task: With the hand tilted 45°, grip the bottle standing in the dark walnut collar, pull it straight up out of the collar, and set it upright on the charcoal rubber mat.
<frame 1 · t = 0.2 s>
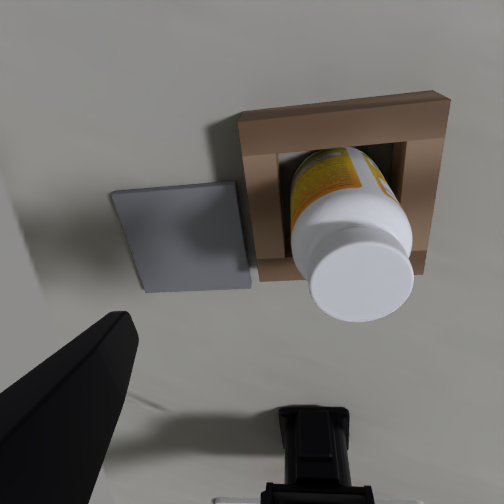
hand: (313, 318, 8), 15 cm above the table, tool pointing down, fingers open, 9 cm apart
rubber mat: (187, 240, 25), on the table
walnut collar: (334, 188, 22), on the table
supplement bottle: (334, 186, 22), resting in walnut collar
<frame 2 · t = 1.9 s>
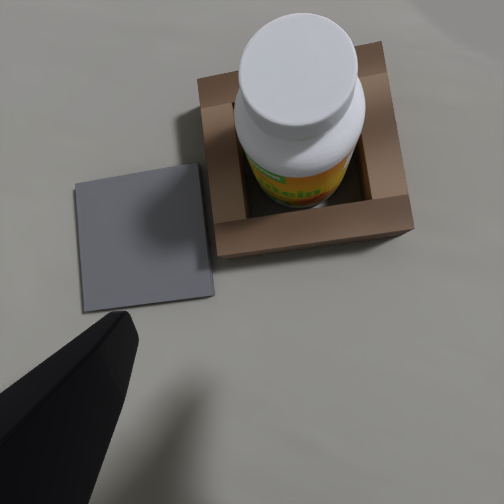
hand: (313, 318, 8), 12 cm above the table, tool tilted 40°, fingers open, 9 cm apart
rubber mat: (144, 238, 22), on the table
walnut collar: (299, 164, 22), on the table
supplement bottle: (299, 166, 22), resting in walnut collar
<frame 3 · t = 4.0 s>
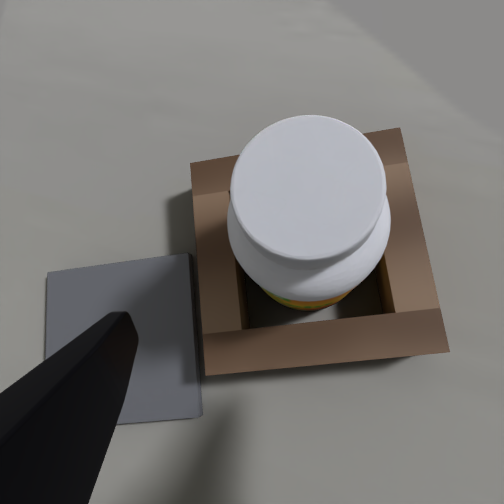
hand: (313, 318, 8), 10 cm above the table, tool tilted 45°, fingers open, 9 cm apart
rubber mat: (123, 339, 19), on the table
walnut collar: (306, 258, 19), on the table
supplement bottle: (306, 259, 19), resting in walnut collar
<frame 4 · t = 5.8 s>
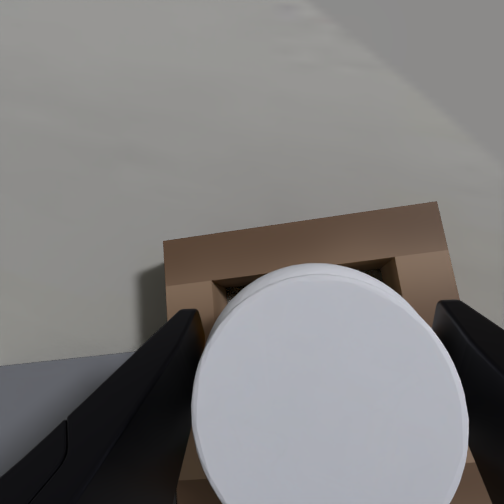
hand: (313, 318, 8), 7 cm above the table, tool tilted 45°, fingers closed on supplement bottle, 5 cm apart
rubber mat: (81, 456, 15), on the table
walnut collar: (312, 358, 15), on the table
supplement bottle: (312, 357, 15), resting in walnut collar, touching gripper
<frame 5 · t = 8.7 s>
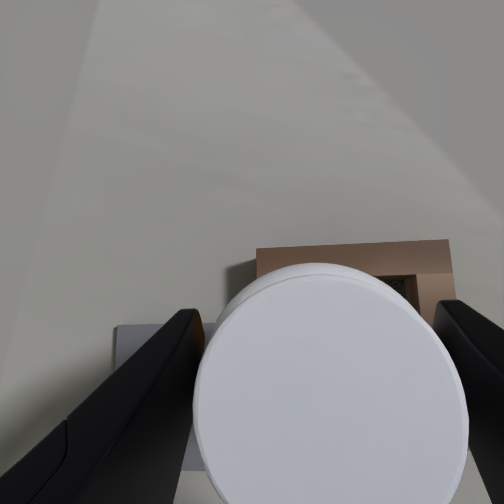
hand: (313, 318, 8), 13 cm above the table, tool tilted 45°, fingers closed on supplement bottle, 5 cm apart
rubber mat: (181, 392, 22), on the table
walnut collar: (350, 338, 21), on the table
supplement bottle: (312, 356, 15), point 6 cm above the table, touching gripper
when the fingers open (8 cm above the table, at t = 11.8 s): supplement bottle drops 1 cm, resting on rubber mat.
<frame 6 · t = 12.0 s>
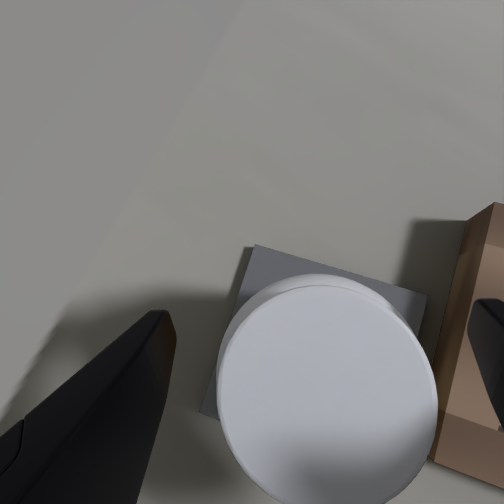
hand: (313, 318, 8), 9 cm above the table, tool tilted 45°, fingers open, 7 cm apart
rubber mat: (311, 353, 17), on the table
supplement bottle: (312, 358, 16), resting on rubber mat
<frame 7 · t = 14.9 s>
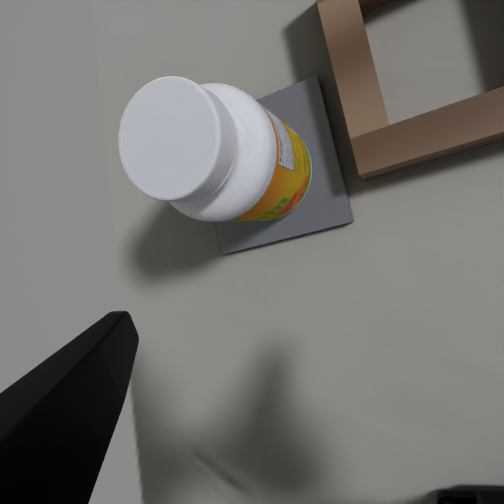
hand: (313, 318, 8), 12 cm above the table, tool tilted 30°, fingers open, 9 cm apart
rubber mat: (269, 172, 21), on the table
walnut collar: (445, 47, 17), on the table
supplement bottle: (268, 173, 21), resting on rubber mat
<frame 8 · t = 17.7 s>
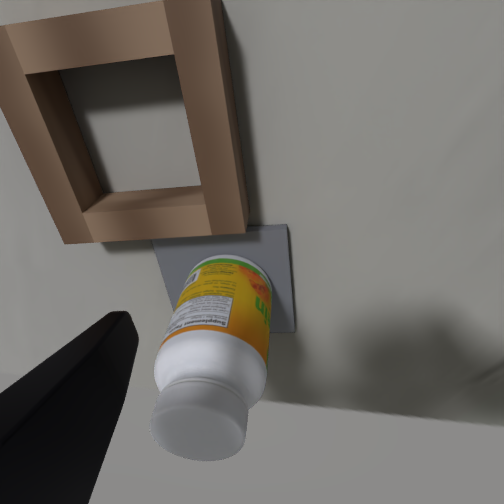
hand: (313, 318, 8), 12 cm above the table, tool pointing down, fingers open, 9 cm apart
rubber mat: (228, 282, 23), on the table
walnut collar: (141, 129, 19), on the table
supplement bottle: (230, 285, 23), resting on rubber mat
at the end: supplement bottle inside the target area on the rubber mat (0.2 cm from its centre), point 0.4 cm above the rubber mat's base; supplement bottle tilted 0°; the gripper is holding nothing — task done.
